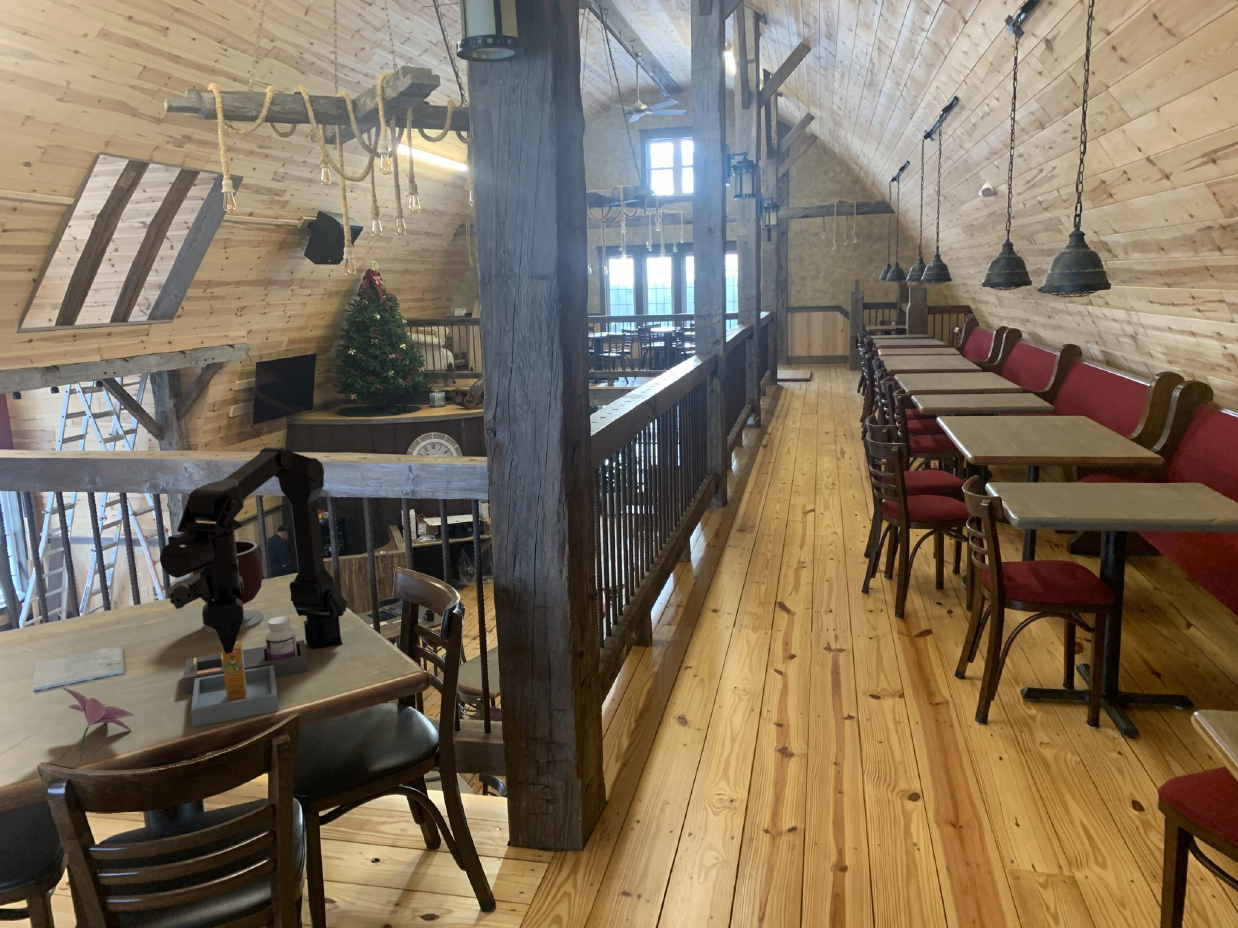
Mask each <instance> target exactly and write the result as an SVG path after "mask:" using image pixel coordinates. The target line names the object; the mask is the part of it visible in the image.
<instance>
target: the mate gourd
mask: <svg viewBox="0 0 1238 928" xmlns="http://www.w3.org/2000/svg"><path fill="white" fill-rule="evenodd" d="M235 543H236V552H237V559H238V569H239V575H240V576H241V577H242V579H243V598H242V602H243V605H245V604H247V603H249V602H251V601H253V600H254V599H255V597H256V596H257V595H258V593H259V591H260V590H261V588H262V582H263V564H262V558H261V555H260V551H259V548H258V544H257V543H256V542H253V541H250V540H249V541H248V540H235ZM200 571H201V569H199V570H196V571H194V572H192V576H193V575H196V574H198V573H200ZM199 599H201V600H202V601H203V602H205V604H206V603H207V602H208V601H207V600H203V598H202V597H200V598H199ZM243 612H244V618H243V621H242V624H241V627H240V630H239V632H243V631H246V630H249V629H251V628H255V627H256V626H259V625H260V624H261V623H262V622H263V621H264V619H265V618H264V613H263V612H261V611H258V610H254V609H243ZM203 628H204V630H205V631H206V632H209V633H211V634H217V632H216V630H215V629H214V628H212V627H208V626H206V625H205V624H203Z"/></svg>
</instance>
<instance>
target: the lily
mask: <svg viewBox="0 0 1238 928" xmlns="http://www.w3.org/2000/svg"><path fill="white" fill-rule="evenodd" d="M61 689H62V690H64V691H65V692H67V693H68V694H69V695H71V696H72V697H73V698H74V699H75V700H76V701H77V702H78V704H71V705H68V706H67V708H69V709H73V710H76V711H78V712H82V713H84V716H85V719H86V722H87V725H86V728H85V730H84V733H83V735H82V738H81V742H80V746H79V751H82V749H83V745H84V742H85V737H86V735H87V732H88V730H89V728H90V727H91V726H92V725H96V724H97V725H98V724H101V723H102V724H104V725H108V724H110V723H112V724H114V725H117V726H118V727H121V728H124V729H126V730H128V731H129V732H132V729H131V728H130V727H129V726H128V725H127V724H125V722H122V721H121V720H120V719H123V718H126V717H134V716H135V714H133V713H132V712H130V711H128V710H125V709H123V708H120V707H117V706H110V705H107V706H106V703H105V702H104V704H103V702H101V701H99V700H98V699H96V698H94V697H89V698H87V696H85V695H83V694H81V693H80V692H77V691H75V690H72V689H70V688H66V687H61Z"/></svg>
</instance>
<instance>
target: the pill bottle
mask: <svg viewBox="0 0 1238 928" xmlns="http://www.w3.org/2000/svg"><path fill="white" fill-rule="evenodd" d="M290 619H291V618H290V617H289V616H285V615H284V616H283V615H282V616H275V617H271V618H270V619H269V620H268V621H267V627H268V631H267V633H265V642H266V646H267V653H268V661H272V660H278V659H284V658H290V657H296V656H297V647H296V641H297V637H296V631H295V629H294V628H293V627H291V620H290Z"/></svg>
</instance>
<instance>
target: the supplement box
mask: <svg viewBox="0 0 1238 928" xmlns="http://www.w3.org/2000/svg"><path fill="white" fill-rule="evenodd" d="M243 650H244V649H243V642H242V641H241V640H238V641H237V640H236V642H235V645H234V648H233V652H232V653H229V654H226V653H225V652H224V649H223V647H222V646H221V654H222V656H223V665H224V675H225V685H226V694H227V700H228V701H233V700H239V699H245V698H246V694H247V686H246V678H245V669H244V660H243Z"/></svg>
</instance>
